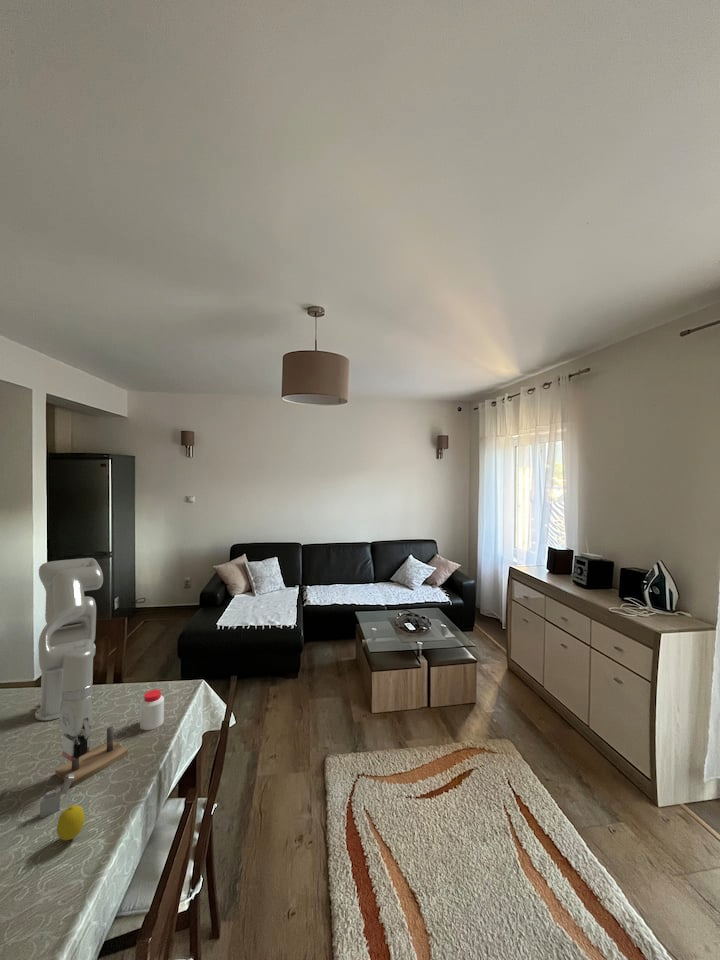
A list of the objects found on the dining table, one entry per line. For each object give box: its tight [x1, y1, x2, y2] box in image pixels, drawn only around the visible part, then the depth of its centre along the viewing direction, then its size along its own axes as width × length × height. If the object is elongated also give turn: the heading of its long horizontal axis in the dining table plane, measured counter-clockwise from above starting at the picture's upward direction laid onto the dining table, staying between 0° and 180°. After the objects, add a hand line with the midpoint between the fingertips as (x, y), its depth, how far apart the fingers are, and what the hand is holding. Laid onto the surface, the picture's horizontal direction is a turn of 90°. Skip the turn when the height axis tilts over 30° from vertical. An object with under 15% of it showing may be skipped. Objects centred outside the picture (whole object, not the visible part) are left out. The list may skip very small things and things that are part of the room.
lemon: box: [56, 804, 86, 841], centre depth 98 cm, size 6×6×8 cm
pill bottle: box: [139, 689, 165, 731], centre depth 145 cm, size 8×8×11 cm
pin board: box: [54, 726, 129, 788], centre depth 124 cm, size 10×16×8 cm, turn 151°
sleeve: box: [61, 729, 91, 762], centre depth 119 cm, size 5×5×6 cm
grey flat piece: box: [39, 774, 74, 819], centre depth 107 cm, size 7×2×8 cm, turn 130°
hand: (75, 751), depth 119 cm, fingers closed on sleeve, 5 cm apart
